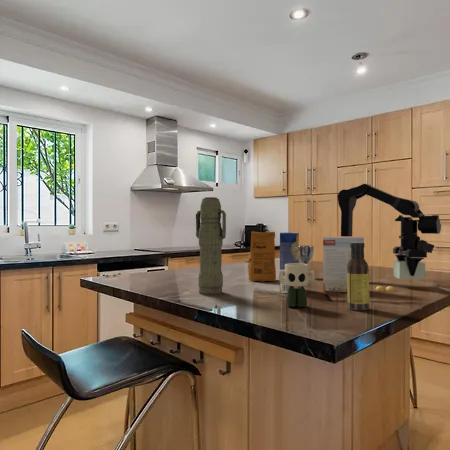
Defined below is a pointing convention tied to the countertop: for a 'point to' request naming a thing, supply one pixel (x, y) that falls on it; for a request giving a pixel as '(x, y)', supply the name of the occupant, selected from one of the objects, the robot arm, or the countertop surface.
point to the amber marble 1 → (379, 288)
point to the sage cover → (403, 272)
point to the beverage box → (288, 254)
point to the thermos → (210, 245)
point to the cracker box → (336, 262)
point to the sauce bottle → (357, 279)
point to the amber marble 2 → (390, 288)
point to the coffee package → (262, 257)
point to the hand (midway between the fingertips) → (408, 274)
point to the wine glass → (306, 254)
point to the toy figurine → (296, 283)
